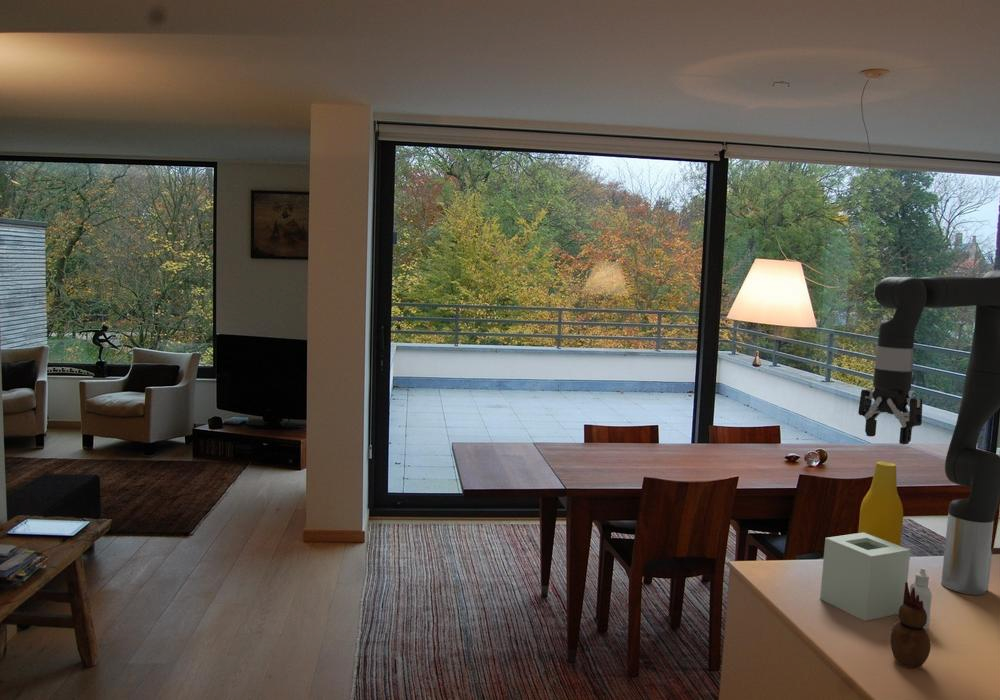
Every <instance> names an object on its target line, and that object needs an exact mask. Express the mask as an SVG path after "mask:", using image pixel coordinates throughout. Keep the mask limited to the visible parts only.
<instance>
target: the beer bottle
mask: <svg viewBox="0 0 1000 700" xmlns="http://www.w3.org/2000/svg"><path fill="white" fill-rule="evenodd" d="M875 463H876V464H875V467H874V472H873V477H872V482H871V485H870V488H869V490H868V491H867V493H866V495H864V497H863V499H862V501H861V504H860V508H859V509H860V510H859V522H858V530H857V533H863V532H864V533H866V534H869V535H872V536H875V537H877V538H880V539H883V540H885V541H888V542H891V543H893V544H896V545H899V546H901V542H902V534H903V533H902V532H903V531H902V530H903V522H904V521H903V520H904V507H903V504H902V501H901V498H900V496H899V493H898V488H897V487H898V486H897V464H896V463H893V462H889V461H877V462H875Z"/></svg>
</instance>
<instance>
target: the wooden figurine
mask: <svg viewBox="0 0 1000 700" xmlns="http://www.w3.org/2000/svg"><path fill="white" fill-rule="evenodd" d="M897 615H898V621H896V622H895V623H894V625H893V626H892V629H891V631H890V637H889V639H890V641H889V643H890V648H891V652H892V655H893V657H894V660H896V662H897V663H898V664H900V665H902V666H905V667H907V668H910V669H917V668H922V667H923V665H924V664H925V662H927V660H928V658H929V656H930V652H931V646H932V645H931V639H930V635H929V634H928V632H927V631H926V630H927V629H924V628H923V627H924V626H925V624H926V622H927V614H926V611H925V609H924V607H923V601H920V602H919V595H917V596H916V599H915V588H912V592H911V595H910V587H909V583H908V581H907V582H906V583H905V590H904V599H903V604H902V605H901V606H900V608H899V613H898V614H897Z"/></svg>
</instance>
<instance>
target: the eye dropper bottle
mask: <svg viewBox="0 0 1000 700" xmlns="http://www.w3.org/2000/svg"><path fill="white" fill-rule="evenodd" d="M929 579H930V576H929V575H927V573H926V568H924V567H922V568H921V569H920V571H919V572H918V573H917V572H916V573H915V579H914V583H911V584H910V587H909V593H910V595H911V592H912V588H915V599H916V596H917V595H919V602H920V601H923V607H924V609H925V611H926V614H927V622H926V624H925V626H924V627H923V628H924V629H925V630H928V629H929V626H930V619H931V618H930V617H931V608H932V595H933V594H932V591H931V589H930V588H929Z"/></svg>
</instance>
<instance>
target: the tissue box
mask: <svg viewBox="0 0 1000 700" xmlns="http://www.w3.org/2000/svg"><path fill="white" fill-rule="evenodd" d="M824 540H825V541H824V550H823V562H822V574H821V583H820V585H821V586H820V594H819V596H820V597H819V599H820V600H822V601H824V602H826V603H827V604H830V605H832V606H834V607H836V608H838V609H840V610H842V611H845V612H847V613H848V614H850V615H853V616H855V617H856V616H857V618H858V617H859V618H858V619H860V618H861V620H863V621H865V622H867V621H871V620H876V619H880V618H886V617H889V616H895V615H898V613H899V608H900V606H901V605H902V604H903V599H904V590H905V583H906V582H907V583H908V579H909V571H910V570H909V569H910V559H911V549H909V548H907V547H904V546H901V545H900V546H899V545H896V544H893V543H891V542H888V541H885V540H883V539H880V538H877V537H875V536H872V535H869V534H866V533H864V532H863V533H858V532H857V533H849V534H844V535H837V536H830V537H829V536H828V537H825V539H824Z"/></svg>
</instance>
